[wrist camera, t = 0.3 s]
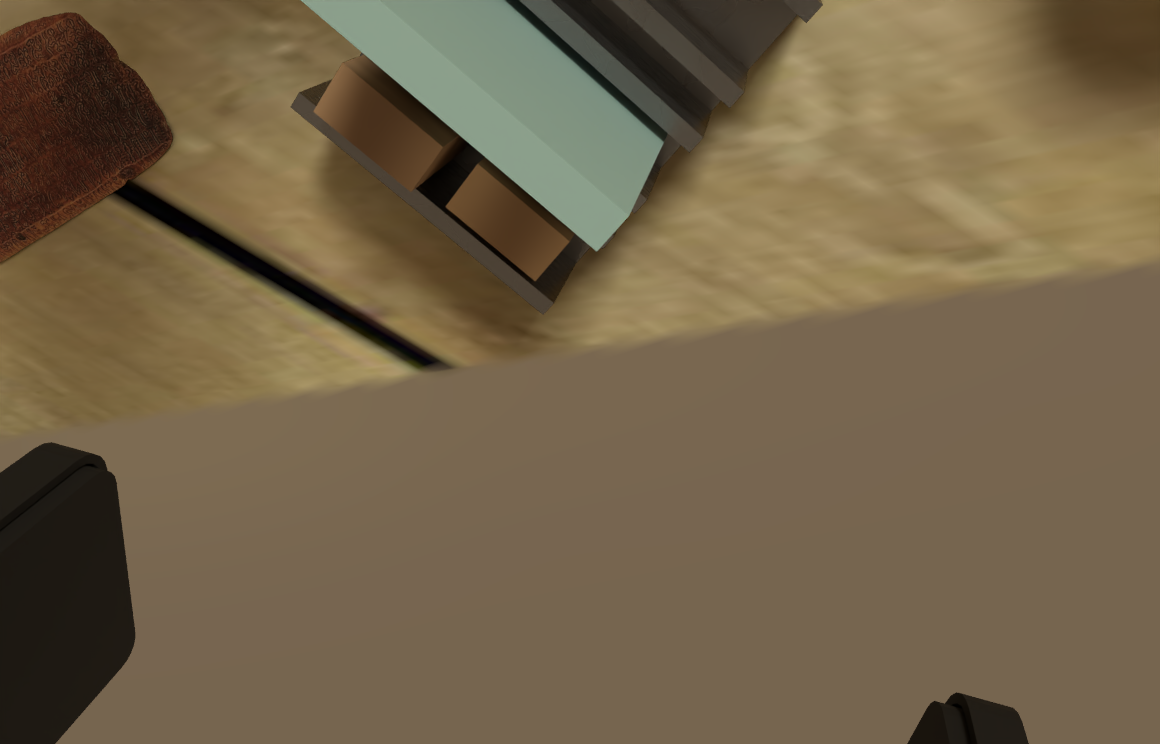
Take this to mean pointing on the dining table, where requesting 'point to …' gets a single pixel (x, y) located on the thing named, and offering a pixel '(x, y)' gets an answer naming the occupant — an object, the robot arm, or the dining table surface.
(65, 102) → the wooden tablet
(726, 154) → the dining table surface
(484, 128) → the teal sheet
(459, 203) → the short walnut offcut
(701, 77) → the rack
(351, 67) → the tall walnut offcut
